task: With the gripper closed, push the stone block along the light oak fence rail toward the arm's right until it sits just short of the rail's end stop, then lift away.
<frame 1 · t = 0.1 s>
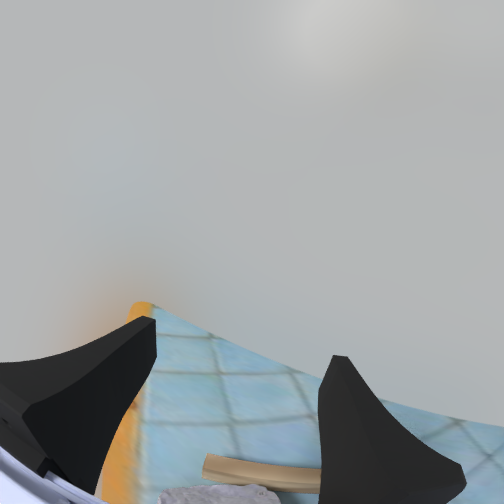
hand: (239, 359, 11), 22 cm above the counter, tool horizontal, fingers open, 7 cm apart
fence: (298, 485, 23), on the counter
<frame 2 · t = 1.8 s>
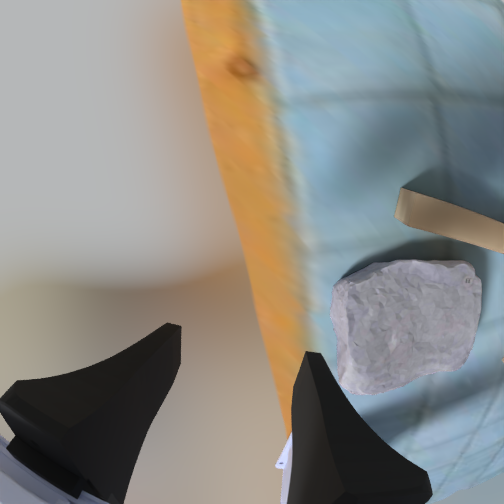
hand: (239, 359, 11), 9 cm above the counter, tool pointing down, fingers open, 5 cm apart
fence: (498, 234, 16), on the counter
stone block: (403, 307, 20), on the counter
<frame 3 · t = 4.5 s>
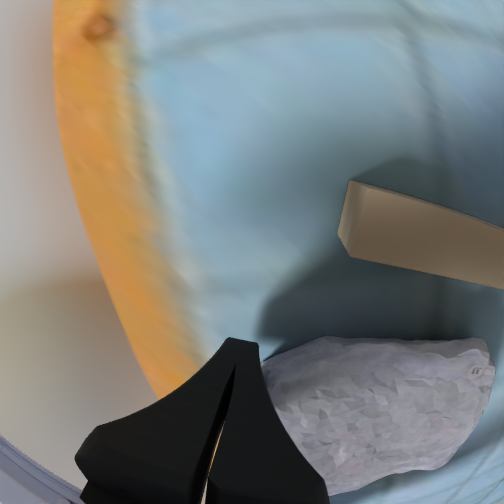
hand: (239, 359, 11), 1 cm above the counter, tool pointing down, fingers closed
stone block: (372, 390, 13), on the counter, touching gripper
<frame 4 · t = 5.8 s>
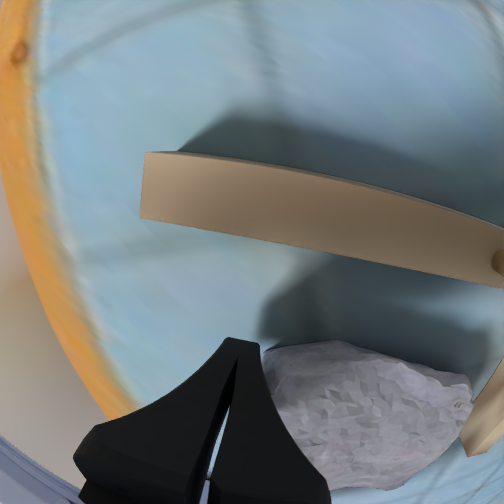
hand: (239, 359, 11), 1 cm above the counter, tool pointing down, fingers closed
fence: (429, 228, 10), on the counter
stone block: (354, 402, 13), on the counter, touching gripper
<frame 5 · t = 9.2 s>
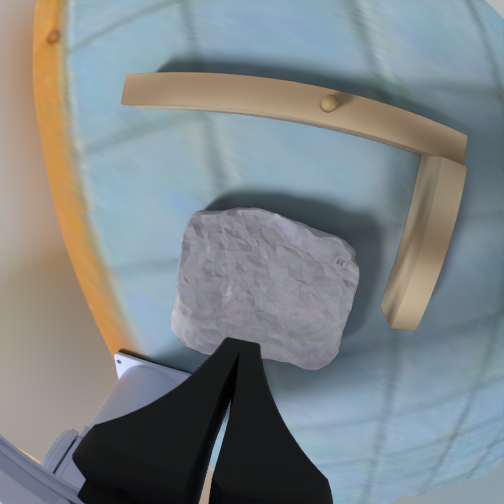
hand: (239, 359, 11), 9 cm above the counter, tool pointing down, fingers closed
fence: (289, 105, 16), on the counter
stone block: (266, 274, 20), on the counter
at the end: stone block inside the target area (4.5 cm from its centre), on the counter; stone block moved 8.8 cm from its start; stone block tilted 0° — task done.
